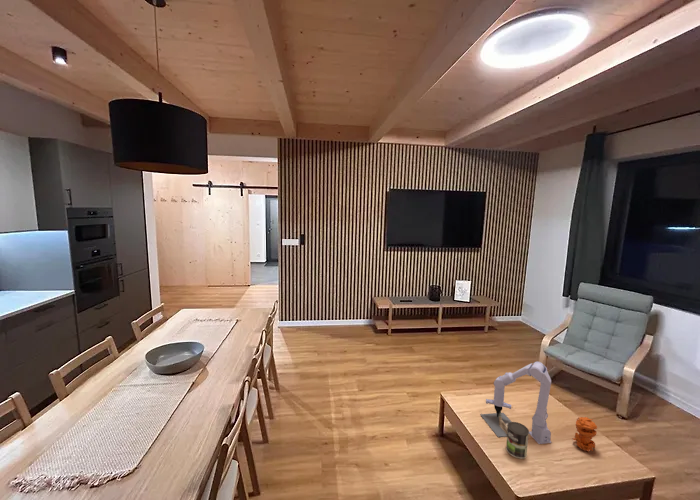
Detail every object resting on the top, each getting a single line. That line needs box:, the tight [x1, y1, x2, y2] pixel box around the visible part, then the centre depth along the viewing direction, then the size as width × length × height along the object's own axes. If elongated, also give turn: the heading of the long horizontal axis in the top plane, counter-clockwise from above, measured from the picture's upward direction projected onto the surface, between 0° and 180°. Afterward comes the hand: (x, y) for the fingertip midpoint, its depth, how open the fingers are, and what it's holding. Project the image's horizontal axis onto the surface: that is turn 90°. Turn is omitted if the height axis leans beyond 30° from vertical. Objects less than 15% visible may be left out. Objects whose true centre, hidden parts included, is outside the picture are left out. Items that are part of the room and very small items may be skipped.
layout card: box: [480, 412, 513, 438], centre depth 190 cm, size 20×16×1 cm
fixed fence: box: [499, 417, 508, 433], centre depth 184 cm, size 10×2×5 cm, turn 6°
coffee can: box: [505, 421, 530, 460], centre depth 168 cm, size 10×10×14 cm
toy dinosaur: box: [572, 416, 598, 452], centre depth 170 cm, size 11×11×18 cm
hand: (497, 416), depth 195 cm, fingers closed
